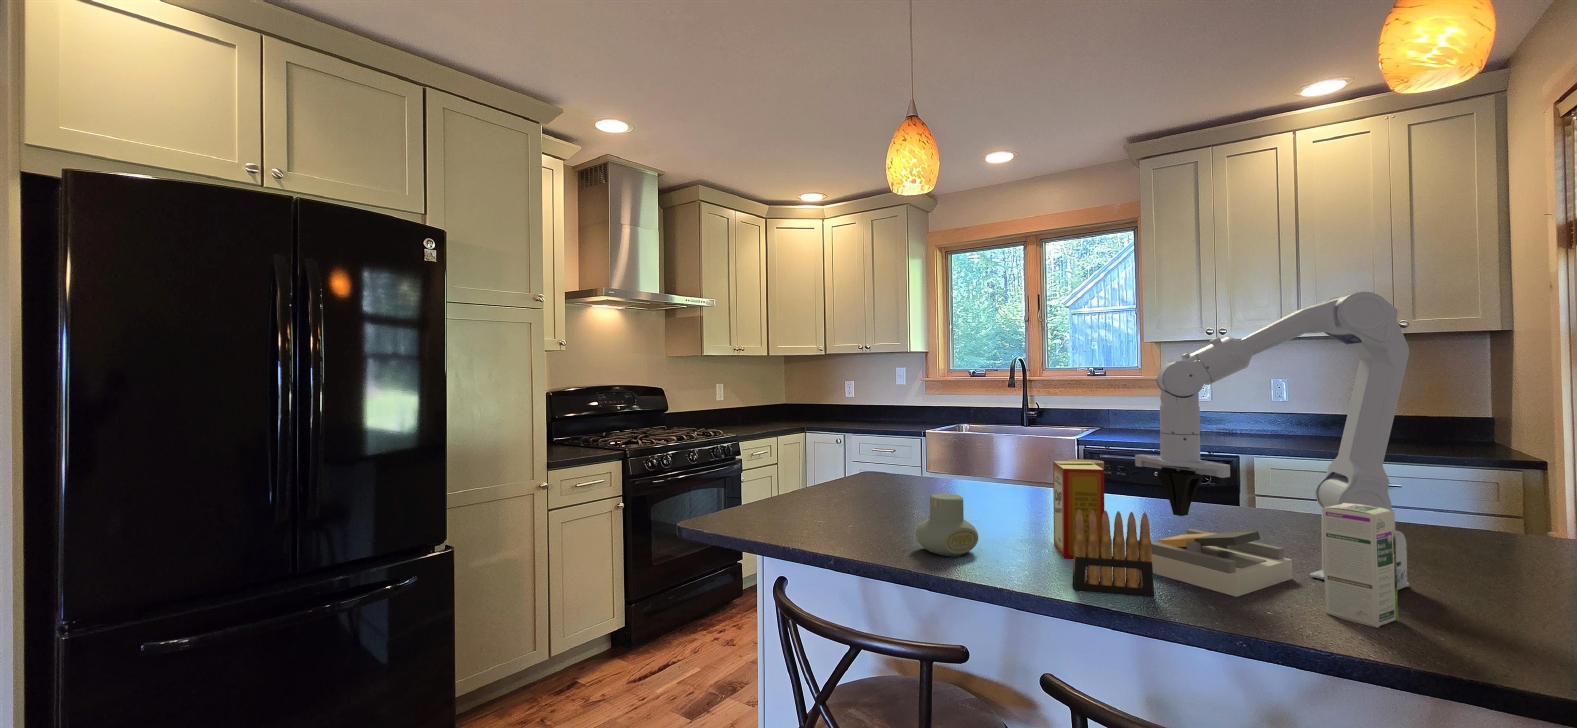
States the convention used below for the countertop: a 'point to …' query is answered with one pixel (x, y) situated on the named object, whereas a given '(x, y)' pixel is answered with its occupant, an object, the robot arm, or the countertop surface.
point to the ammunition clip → (1113, 557)
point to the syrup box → (1360, 563)
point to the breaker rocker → (1212, 539)
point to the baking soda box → (1075, 501)
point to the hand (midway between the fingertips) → (1180, 514)
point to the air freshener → (947, 527)
